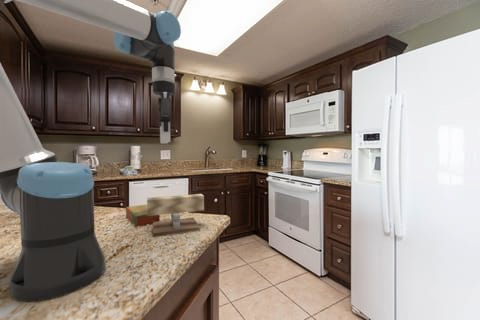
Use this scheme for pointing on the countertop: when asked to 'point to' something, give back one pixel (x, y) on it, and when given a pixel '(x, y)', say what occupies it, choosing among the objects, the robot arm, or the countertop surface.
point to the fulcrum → (174, 226)
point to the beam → (175, 204)
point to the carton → (140, 215)
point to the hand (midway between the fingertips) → (165, 143)
